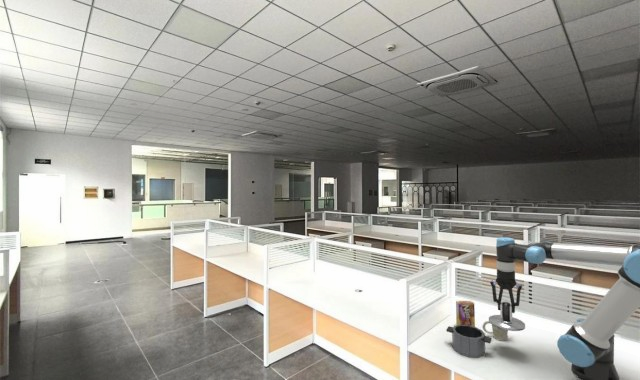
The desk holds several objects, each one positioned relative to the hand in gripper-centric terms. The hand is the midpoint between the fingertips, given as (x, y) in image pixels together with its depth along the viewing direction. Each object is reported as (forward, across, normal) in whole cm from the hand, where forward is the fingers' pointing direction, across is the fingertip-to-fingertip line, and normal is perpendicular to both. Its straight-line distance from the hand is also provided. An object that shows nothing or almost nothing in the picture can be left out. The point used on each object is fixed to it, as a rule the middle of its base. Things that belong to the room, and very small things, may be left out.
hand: (506, 317), depth 145 cm
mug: (+17, +6, -13) cm, 23 cm away
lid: (+3, 0, 0) cm, 3 cm away
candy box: (+17, +22, -14) cm, 31 cm away
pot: (+17, +16, +8) cm, 24 cm away
